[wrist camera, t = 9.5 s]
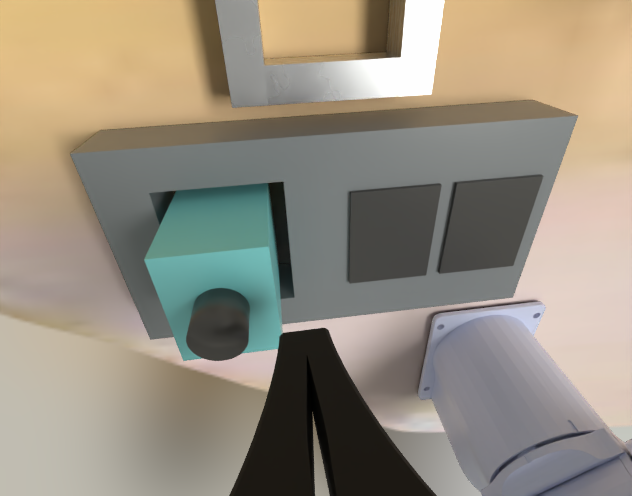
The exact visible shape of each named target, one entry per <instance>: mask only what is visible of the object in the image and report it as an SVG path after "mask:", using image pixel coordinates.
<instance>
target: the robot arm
mask: <svg viewBox="0 0 632 496" xmlns="http://www.w3.org/2000/svg"><path fill="white" fill-rule="evenodd" d="M545 308H546V307H545V305H544V304H543V303H542V302H530V303H522V304H513V305H505V306H496V307H488V308H479V309H471V310H462V311H454V312H445V313H439V314H437V315H435V316H434V317H433V320H432V325H431V330H430V335H429V340H428V345H427V350H426V355H425V360H424V365H423V369H422V374H421V379H420V384H419V389H418V396H419V398H420V399H422V400H426V399H432V401H433V404H434V406H435V408H436V411H437V413H438V415H439V418H440V420H441V422H442V425H443V427H444V430H445V432H446V434H447V437H448V439H449V441H450V444H451V445H452V448H453V450H454V453H455V455H456V458H457V460H458V462H459V465H460V467H461V469H462V470H463V473H464V474H465V476H466V477H467V479H468V480H469V481H470V482H471V483H472V485H474V487H475V488H477V489H478V490H479V491H480V492H481V494H482V496H632V439H630V440H628V441H626V442H625V443H624V442H623V441H622V440H621V439H619V438H618V437H617V436H615V435H614V434H613V433H612V431H611V430H610V429H609V427H608V426H607V425H606V424H605V423H604V421H603V420H602V419H601V418H600V416H599V415H598V414H597V413H596V412H595V410H594V409H593V408H592V407H591V405H590V404H589V403H588V402H587V401H586V399H585V398H584V397H583V396H582V394H581V393H580V392H579V391H578V390H577V388H576V387H575V386H574V385H573V383H572V382H571V381H570V380H569V379H568V377H567V376H566V375H565V374H564V372H563V371H562V370H561V369H560V368H559V366H558V365H557V364H556V363H555V361H554V360H553V359H552V358H551V357H550V355H549V354H548V353H547V352H546V350H545V349H544V348H543V347H542V346H541V344H540V343H539V342H538V341H537V339H536V338H535V337H534V334H535V331H536V329H537V327H538V325H539V322H540V320H541V318H542V315H543V313H544V311H545ZM312 411H313V416H314V421H315V426H316V430H317V435H318V440H319V445H320V449H321V454H322V459H323V464H324V469H325V473H326V479H327V483H328V488H329V494H330V496H436V494H435V493H434V492H433V491H432V490H431V489H430V488H429V486H428V485H427V484H426V483H425V482H424V481H423V480H422V478H421V477H420V476H419V475H418V473H417V472H416V471H415V470H414V468H413V467H412V466H411V465H410V464H409V462H408V461H407V460H406V459H405V457H404V456H403V455H402V453H401V452H400V451H399V449H398V448H397V447H396V446H395V444H394V443H393V442H392V440H391V439H390V438H389V436H388V435H387V433H386V432H385V431H384V429H383V428H382V426H381V425H380V423H379V422H378V420H377V419H376V417H375V416H374V415H373V413H372V412H371V410H370V409H369V407H368V406H367V404H366V402H365V401H364V399H363V398H362V396H361V394H360V393H359V391H358V389H357V388H356V386H355V384H354V383H353V381H352V379H351V378H350V376H349V374H348V372H347V370H346V369H345V367H344V365H343V363H342V361H341V359H340V357H339V355H338V353H337V351H336V348H335V346H334V344H333V341H332V339H331V336H330V333H329V330H327V329H326V328H319V329H311V330H303V331H295V332H287V333H282V334H281V335H280V336H279V347H278V354H277V359H276V364H275V369H274V373H273V377H272V381H271V385H270V388H269V392H268V395H267V399H266V402H265V406H264V409H263V412H262V415H261V418H260V421H259V423H258V426H257V429H256V432H255V435H254V438H253V441H252V443H251V446H250V448H249V451H248V453H247V456H246V458H245V461H244V463H243V466H242V468H241V471H240V473H239V475H238V478H237V480H236V482H235V485H234V487H233V489H232V491H231V493H230V495H229V496H315V484H314V451H313V416H312Z"/></svg>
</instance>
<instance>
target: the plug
mask: <svg viewBox="0 0 632 496" xmlns="http://www.w3.org/2000/svg"><path fill="white" fill-rule="evenodd" d="M144 261H145V263H146V266H147V268H148V271H149V274H150V276H151V279H152V281H153V284H154V286H155V289H156V292H157V294H158V297H159V299H160V302H161V304H162V307H163V310H164V312H165V315H166V317H167V320H168V322H169V325H170V328H171V330H172V333H173V335H174V338H175V340H176V343H177V346H178V348H179V351H180V353H181V356H182V358H183V361H186V360H194V359H201V358H204V359H207V360H213V361H222V360H228V359H232V358H234V357H236V356H238V355H240V354H241V353H249V352H257V351H265V350H272V349H278V347H279V336H280V335H281V334H282V333H283V332H282V315H281V298H280V281H279V265H278V250H277V242H276V234H275V227H274V219H273V211H272V203H271V196H270V188H269V183H260V184H248V185H237V186H225V187H213V188H201V189H189V190H177V191H176V192H175V195H174V197H173V199H172V201H171V203H170V205H169V207H168V210H167V212H166V214H165V216H164V218H163V220H162V222H161V225H160V227H159V229H158V231H157V233H156V235H155V237H154V240H153V242H152V244H151V246H150V248H149V250H148V252H147V254H146V257H145V259H144Z"/></svg>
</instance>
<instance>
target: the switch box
mask: <svg viewBox="0 0 632 496" xmlns="http://www.w3.org/2000/svg"><path fill="white" fill-rule="evenodd" d="M577 118H578V115H575V114H572V113H569V112H566V111H563V110H561V109H558V108H555V107H552V106H549V105H546V104H544V103H541V102H538V101H535V100H524V101H510V102H496V103H481V104H467V105H453V106H439V107H425V108H410V109H396V110H382V111H368V112H353V113H339V114H325V115H311V116H297V117H282V118H268V119H254V120H240V121H225V122H211V123H197V124H183V125H169V126H154V127H140V128H126V129H112V130H100V131H99V132H97V133H96V134H95V135H94V136H92V137H91V138H90V139H88V140H87V141H86V142H84V143H83V144H82V145H81V146H79V147H78V148H77V149H75V150H74V151H73V152H72V153H70V155H71V157H72V159H73V162H74V164H75V166H76V169H77V171H78V173H79V176H80V178H81V180H82V183H83V185H84V187H85V190H86V192H87V194H88V196H89V199H90V201H91V203H92V206H93V208H94V210H95V213H96V215H97V217H98V220H99V222H100V224H101V226H102V229H103V231H104V233H105V236H106V238H107V240H108V243H109V245H110V247H111V250H112V252H113V254H114V257H115V259H116V261H117V263H118V266H119V268H120V270H121V273H122V275H123V277H124V280H125V282H126V284H127V287H128V289H129V291H130V294H131V296H132V298H133V300H134V303H135V305H136V307H137V310H138V312H139V314H140V317H141V319H142V321H143V324H144V326H145V328H146V330H147V333H148V335H149V337H150V340H151V339H159V338H168V337H174V335H173V333H172V330H171V328H170V325H169V322H168V320H167V317H166V315H165V312H164V310H163V307H162V304H161V302H160V299H159V297H158V294H157V292H156V289H155V286H154V284H153V281H152V279H151V276H150V274H149V271H148V268H147V266H146V263H145V261H144V259H145V257H146V254H147V252H148V250H149V248H150V246H151V244H152V242H153V240H154V237H155V235H156V233H157V231H158V229H159V227H160V225H161V222H162V220H163V218H164V216H165V214H166V212H167V210H168V207H169V205H170V203H171V201H172V199H173V197H174V193H173V191H177V190H189V189H201V188H213V187H225V186H237V185H248V184H260V183H272V182H283V187H284V197H285V208H286V218H287V228H288V239H289V249H290V260H291V263H287V264H278V265H279V281H280V298H281V315H282V324H289V323H297V322H306V321H314V320H323V319H332V318H340V317H349V316H358V315H366V314H375V313H383V312H392V311H401V310H409V309H418V308H427V307H435V306H444V305H452V304H461V303H470V302H478V301H487V300H495V299H504V298H513V295H514V293H515V290H516V287H517V284H518V281H519V279H520V276H521V273H522V270H523V268H524V265H525V262H526V259H527V256H528V254H529V251H530V248H531V245H532V243H533V240H534V237H535V234H536V231H537V229H538V226H539V223H540V220H541V218H542V215H543V212H544V209H545V206H546V204H547V201H548V198H549V195H550V193H551V190H552V187H553V184H554V181H555V179H556V176H557V173H558V170H559V168H560V165H561V162H562V159H563V156H564V154H565V151H566V148H567V145H568V143H569V140H570V137H571V134H572V131H573V129H574V126H575V123H576V120H577Z"/></svg>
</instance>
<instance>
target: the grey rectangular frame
mask: <svg viewBox="0 0 632 496" xmlns="http://www.w3.org/2000/svg"><path fill="white" fill-rule="evenodd" d="M215 4H216V10H217V16H218V22H219V28H220V35H221V41H222V47H223V53H224V60H225V66H226V72H227V78H228V84H229V91H230V97H231V103H232V108H236V107H251V106H266V105H281V104H295V103H310V102H325V101H340V100H355V99H370V98H384V97H399V96H414V95H429V94H432V87H433V79H434V72H435V64H436V57H437V49H438V42H439V34H440V27H441V20H442V12H443V5H444V0H390V3H389V19H388V34H387V50H386V52H376V53H358V54H341V55H323V56H306V57H288V58H271V59H264V54H263V44H262V35H261V26H260V16H259V7H258V0H215Z"/></svg>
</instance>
